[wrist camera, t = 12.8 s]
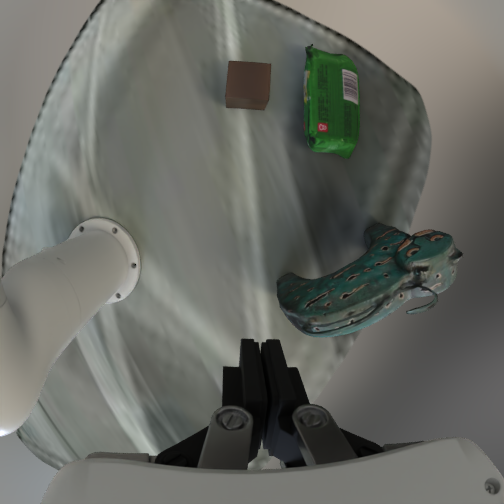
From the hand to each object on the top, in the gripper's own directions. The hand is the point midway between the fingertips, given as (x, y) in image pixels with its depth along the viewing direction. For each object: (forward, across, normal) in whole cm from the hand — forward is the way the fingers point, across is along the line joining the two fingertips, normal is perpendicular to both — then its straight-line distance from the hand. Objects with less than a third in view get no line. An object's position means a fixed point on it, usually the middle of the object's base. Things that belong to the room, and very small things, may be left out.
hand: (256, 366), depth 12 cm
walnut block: (+27, +1, -20) cm, 34 cm away
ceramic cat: (+27, -14, +2) cm, 31 cm away
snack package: (+27, -10, -20) cm, 35 cm away
